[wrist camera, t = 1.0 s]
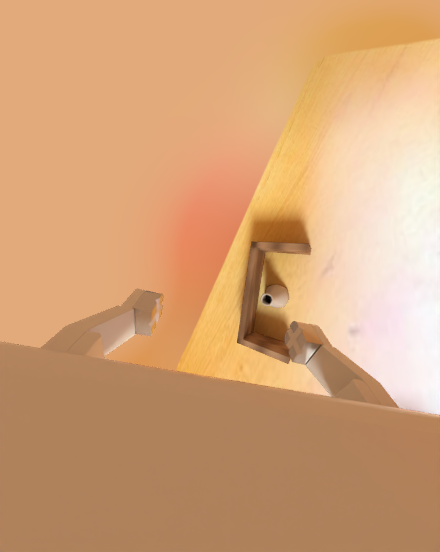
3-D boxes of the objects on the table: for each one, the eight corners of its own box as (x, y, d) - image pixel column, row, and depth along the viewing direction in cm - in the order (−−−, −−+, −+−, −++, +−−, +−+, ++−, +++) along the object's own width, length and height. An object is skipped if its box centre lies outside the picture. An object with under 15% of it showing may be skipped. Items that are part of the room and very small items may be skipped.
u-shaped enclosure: (311, 248, 45) (308, 243, 38) (293, 351, 47) (288, 363, 40) (261, 246, 52) (251, 241, 45) (247, 334, 54) (236, 342, 48)
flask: (263, 305, 52) (251, 310, 43) (266, 282, 51) (254, 283, 43) (287, 310, 48) (279, 317, 39) (291, 286, 47) (283, 287, 39)
